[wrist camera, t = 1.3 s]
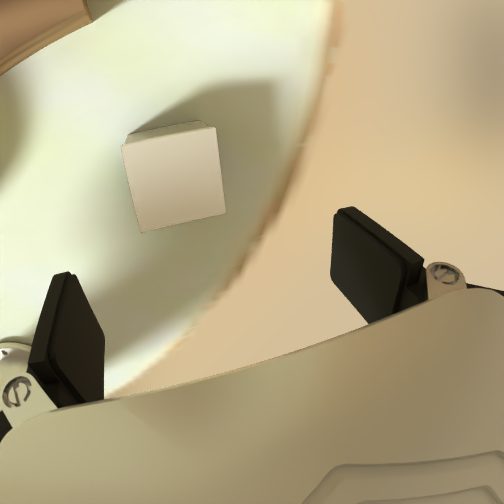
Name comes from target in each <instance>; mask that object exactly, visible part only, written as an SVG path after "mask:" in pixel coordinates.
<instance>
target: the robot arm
mask: <svg viewBox="0 0 504 504" xmlns="http://www.w3.org/2000/svg"><path fill="white" fill-rule="evenodd" d="M423 263H424V259H423V258H422V257H421V256H420V255H419V254H417V253H416V252H415V251H414V250H412V249H411V248H410V247H408V246H407V245H406V244H405V243H403V242H402V241H401V240H399V239H398V238H396V237H395V236H394V235H393V234H391V233H390V232H389V231H387V230H386V229H384V228H383V227H382V226H380V225H379V224H378V223H376V222H375V221H374V220H372V219H371V218H369V217H368V216H367V215H365V214H364V213H362V212H361V211H359V210H358V209H357V208H355V207H352V206H351V207H346V208H341V209H339V210H338V211H337V213H336V214H335V215H334V218H333V239H332V256H331V269H330V276H331V279H332V281H333V283H334V284H335V285H336V286H337V287H338V288H339V290H340V291H341V292H342V293H343V294H344V296H345V297H346V298H347V299H348V300H349V301H350V302H351V304H352V305H353V306H354V307H355V308H356V309H357V311H358V312H359V313H360V314H361V315H362V317H363V318H364V319H365V320H366V321H367V323H368V325H366V326H363V327H361V328H358V329H356V330H353V331H350V332H348V333H345V334H342V335H340V336H337V337H334V338H331V339H329V340H326V341H323V342H320V343H317V344H315V345H311V346H309V347H306V348H303V349H300V350H297V351H294V352H291V353H288V354H285V355H282V356H279V357H275V358H272V359H269V360H266V361H262V362H259V363H256V364H253V365H249V366H246V367H242V368H238V369H235V370H232V371H228V372H224V373H221V374H217V375H213V376H209V377H205V378H201V379H197V380H193V381H190V382H185V383H181V384H177V385H172V386H168V387H164V388H159V389H155V390H150V391H145V392H140V393H135V394H130V395H125V396H120V397H115V398H109V399H104V351H105V337H104V334H103V331H102V329H101V327H100V325H99V323H98V321H97V319H96V317H95V315H94V313H93V311H92V309H91V307H90V305H89V303H88V300H87V298H86V296H85V294H84V292H83V290H82V287H81V285H80V283H79V281H78V278H77V276H76V275H75V274H73V275H71V273H70V272H64V273H60V274H56V275H54V276H53V278H52V281H51V283H50V286H49V289H48V292H47V295H46V298H45V301H44V305H43V308H42V311H41V314H40V318H39V321H38V324H37V328H36V332H35V335H34V339H33V343H32V346H29V345H26V344H21V343H14V342H6V343H1V344H0V504H504V291H500V290H495V289H491V288H486V287H482V286H476V285H472V284H468V283H466V282H465V278H464V275H463V273H462V272H461V271H460V270H459V269H458V268H457V267H455V266H453V265H451V264H448V263H444V262H434V263H431V264H429V265H428V266H427V268H426V269H425V268H424V267H423Z"/></svg>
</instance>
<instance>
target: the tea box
mask: <svg viewBox="0 0 504 504" xmlns="http://www.w3.org/2000/svg"><path fill="white" fill-rule="evenodd" d="M90 23H92V19H91V16H90V13H89V9H88V6H87V3H86V0H0V76H1V75H2V74H4V73H5V72H7V71H8V70H10V69H11V68H12V67H14V66H15V65H17V64H18V63H20V62H21V61H23V60H25V59H26V58H28V57H29V56H31V55H33V54H34V53H36V52H37V51H39V50H41V49H42V48H44V47H46V46H48V45H49V44H51V43H53V42H55V41H57V40H58V39H60V38H62V37H64V36H66V35H68V34H70V33H72V32H74V31H76V30H78V29H80V28H82V27H84V26H86V25H88V24H90Z"/></svg>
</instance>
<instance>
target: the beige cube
mask: <svg viewBox="0 0 504 504" xmlns="http://www.w3.org/2000/svg"><path fill="white" fill-rule="evenodd" d="M121 150H122V155H123V160H124V165H125V169H126V174H127V178H128V183H129V187H130V191H131V196H132V200H133V204H134V208H135V212H136V216H137V220H138V223H139V227H140V231H141V233H143V232H147V231H151V230H155V229H159V228H164V227H168V226H172V225H176V224H181V223H185V222H189V221H194V220H198V219H203V218H207V217H212V216H216V215H221V214H225V213H226V208H225V200H224V192H223V184H222V176H221V168H220V160H219V151H218V143H217V134H216V128H215V127H214V126H213V127H210V126H208V125H206V124H205V123H203V122H202V121H200V120H197V121H191V122H186V123H180V124H175V125H170V126H165V127H160V128H155V129H151V130H146V131H142V132H137V133H133V134H129V135H128V136H127V139H126V141H125V144H124V145H122V146H121Z"/></svg>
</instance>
